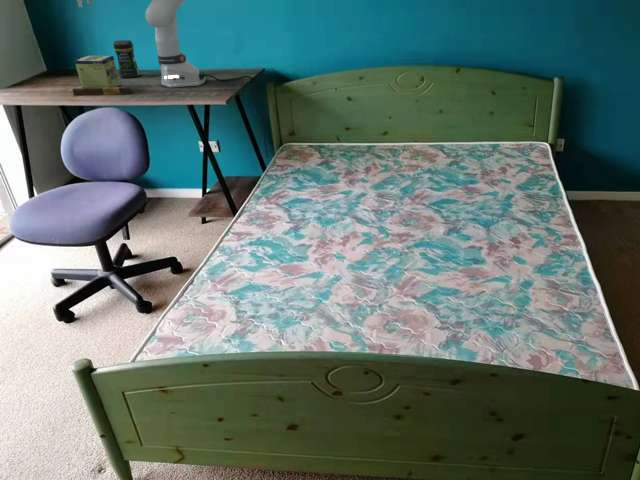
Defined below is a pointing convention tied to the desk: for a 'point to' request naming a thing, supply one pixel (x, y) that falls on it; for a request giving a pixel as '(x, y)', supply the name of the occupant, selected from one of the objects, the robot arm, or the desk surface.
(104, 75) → the protein box
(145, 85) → the desk surface
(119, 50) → the coffee jar
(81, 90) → the guide rail
